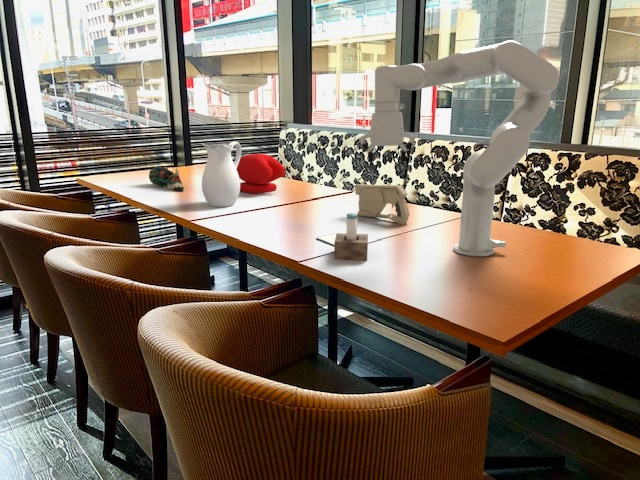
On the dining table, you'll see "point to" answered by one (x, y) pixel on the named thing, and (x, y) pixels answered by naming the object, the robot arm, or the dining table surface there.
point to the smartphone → (328, 239)
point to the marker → (351, 226)
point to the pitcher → (221, 175)
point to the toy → (259, 173)
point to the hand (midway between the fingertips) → (386, 164)
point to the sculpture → (166, 178)
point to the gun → (382, 201)
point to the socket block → (351, 247)
